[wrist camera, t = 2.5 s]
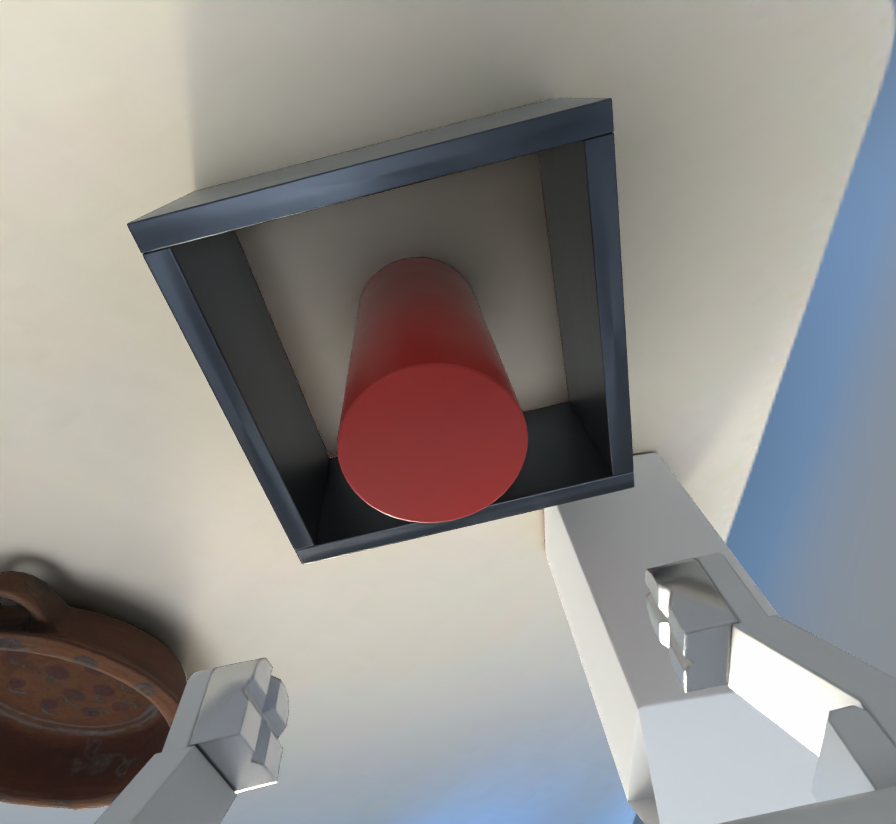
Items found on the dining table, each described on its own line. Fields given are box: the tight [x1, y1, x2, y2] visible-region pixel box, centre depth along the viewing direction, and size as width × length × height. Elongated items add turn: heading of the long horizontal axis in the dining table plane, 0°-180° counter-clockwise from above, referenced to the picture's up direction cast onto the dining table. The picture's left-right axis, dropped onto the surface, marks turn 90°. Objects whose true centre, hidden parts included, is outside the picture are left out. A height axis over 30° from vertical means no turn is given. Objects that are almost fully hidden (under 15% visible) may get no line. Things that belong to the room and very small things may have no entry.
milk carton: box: [544, 453, 819, 824], centre depth 26 cm, size 7×7×19 cm
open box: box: [127, 98, 634, 565], centre depth 24 cm, size 16×16×7 cm
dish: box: [0, 571, 187, 810], centre depth 36 cm, size 18×22×5 cm
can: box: [337, 257, 528, 523], centre depth 22 cm, size 6×6×12 cm
